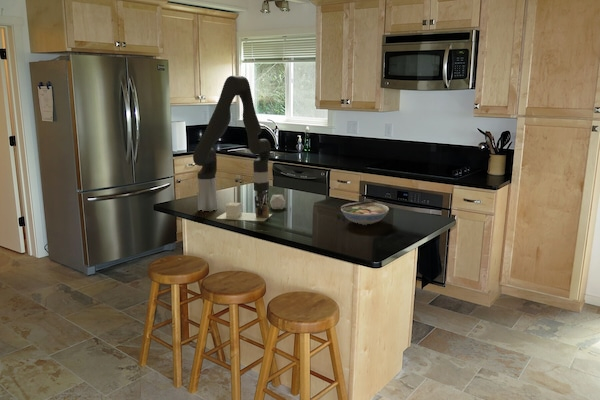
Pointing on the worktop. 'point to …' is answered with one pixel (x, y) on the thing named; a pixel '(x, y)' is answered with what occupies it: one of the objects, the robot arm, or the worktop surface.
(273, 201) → the die
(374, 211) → the ramen bowl
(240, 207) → the cube
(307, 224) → the worktop surface
